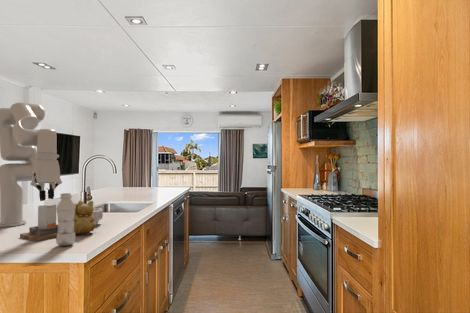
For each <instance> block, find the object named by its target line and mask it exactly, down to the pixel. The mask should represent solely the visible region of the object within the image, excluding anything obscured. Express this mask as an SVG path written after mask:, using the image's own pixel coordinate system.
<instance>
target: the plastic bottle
mask: <svg viewBox="0 0 470 313" xmlns="http://www.w3.org/2000/svg"><path fill="white" fill-rule="evenodd" d="M72 198H73V196H72V193H67V192H66V193H60V198H59V199H61V200H60V201H59V202H58V204H56V217H57V225H58V232H57V237H56V239H55V242H56V245H57V246H59V247H67V246H71V245H73V244H75V241H76V235H75V232H74V215H75V208H76V206H75V204H76V203H74V202H73V200H72Z"/></svg>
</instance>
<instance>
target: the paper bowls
mask: <svg viewBox="0 0 470 313" xmlns="http://www.w3.org/2000/svg"><path fill="white" fill-rule="evenodd" d="M103 214H104V211H103V208H100V207H99V208H97V207H93V213H92V214H91V215H92V216H93V217H94V219H95V221H94V222H95V226H96V225H98V223H99V222H100V220H102V219H103V216H104V215H103ZM74 223H75V222H74Z"/></svg>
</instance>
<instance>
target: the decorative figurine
mask: <svg viewBox="0 0 470 313" xmlns="http://www.w3.org/2000/svg"><path fill="white" fill-rule="evenodd" d="M74 204H75V206H76V208H75V215H74V222H75V223H74V232H75V236H87V235H89V234H90V233H91V232H93V231H95V228H96V225H95V222H94V221H95V219H94V217H93V216H92V215H91V214H92V213H93V208H94V201H93V200H89V201H88V202H87V203H85V202H84V200H78V202H77V203H74Z"/></svg>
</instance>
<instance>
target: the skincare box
mask: <svg viewBox="0 0 470 313" xmlns="http://www.w3.org/2000/svg"><path fill="white" fill-rule="evenodd" d="M56 224H57V204H55V203H48V204H46V203H45V204H42V205H38V206H37V226H38V229H47V228H52V227H56Z"/></svg>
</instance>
